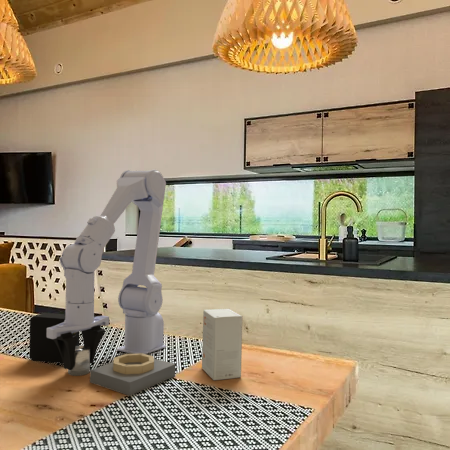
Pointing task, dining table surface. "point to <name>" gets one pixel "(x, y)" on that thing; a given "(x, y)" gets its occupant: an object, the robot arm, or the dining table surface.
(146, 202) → the robot arm
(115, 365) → the grey square plate
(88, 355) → the shiny metal cylinder
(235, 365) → the small box
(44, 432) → the dining table surface
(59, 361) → the electronic device
